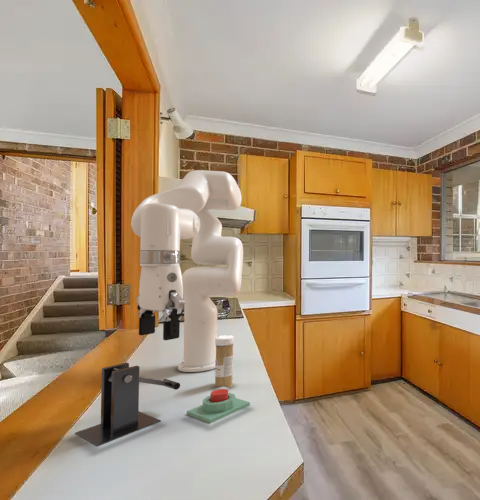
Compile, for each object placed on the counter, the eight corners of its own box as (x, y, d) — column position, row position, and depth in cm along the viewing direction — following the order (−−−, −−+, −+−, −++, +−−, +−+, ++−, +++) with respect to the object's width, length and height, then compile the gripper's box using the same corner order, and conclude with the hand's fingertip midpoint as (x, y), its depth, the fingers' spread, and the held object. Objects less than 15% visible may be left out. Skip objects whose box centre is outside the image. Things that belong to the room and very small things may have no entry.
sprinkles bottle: (211, 387, 93) (212, 336, 93) (227, 383, 96) (228, 334, 97) (219, 391, 90) (220, 339, 90) (236, 386, 93) (237, 336, 94)
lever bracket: (137, 416, 76) (138, 357, 76) (160, 426, 72) (162, 363, 72) (74, 438, 66) (76, 371, 67) (97, 452, 62) (98, 379, 62)
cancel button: (221, 395, 80) (221, 387, 80) (231, 398, 78) (231, 390, 78) (206, 401, 76) (206, 393, 76) (217, 404, 75) (217, 396, 75)
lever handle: (164, 388, 79) (169, 377, 80) (177, 392, 77) (182, 381, 78) (103, 379, 69) (110, 366, 70) (116, 383, 66) (122, 370, 67)
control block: (226, 402, 83) (226, 387, 83) (249, 409, 79) (250, 394, 80) (186, 419, 75) (186, 402, 75) (210, 428, 71) (210, 410, 71)
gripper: (199, 259, 77) (198, 337, 76) (156, 259, 85) (155, 329, 85) (164, 259, 70) (163, 344, 70) (122, 259, 79) (120, 335, 78)
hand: (158, 336), depth 77 cm, fingers open, 9 cm apart
